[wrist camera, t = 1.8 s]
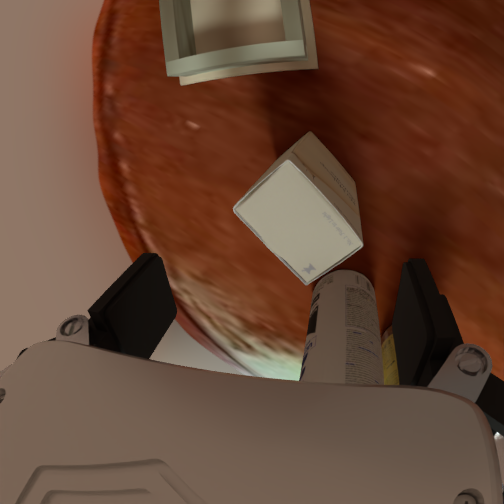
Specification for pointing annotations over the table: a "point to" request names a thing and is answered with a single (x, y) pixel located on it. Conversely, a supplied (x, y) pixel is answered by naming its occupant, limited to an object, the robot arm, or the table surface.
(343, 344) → the spray can
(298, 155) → the skincare box
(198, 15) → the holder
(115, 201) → the table surface
